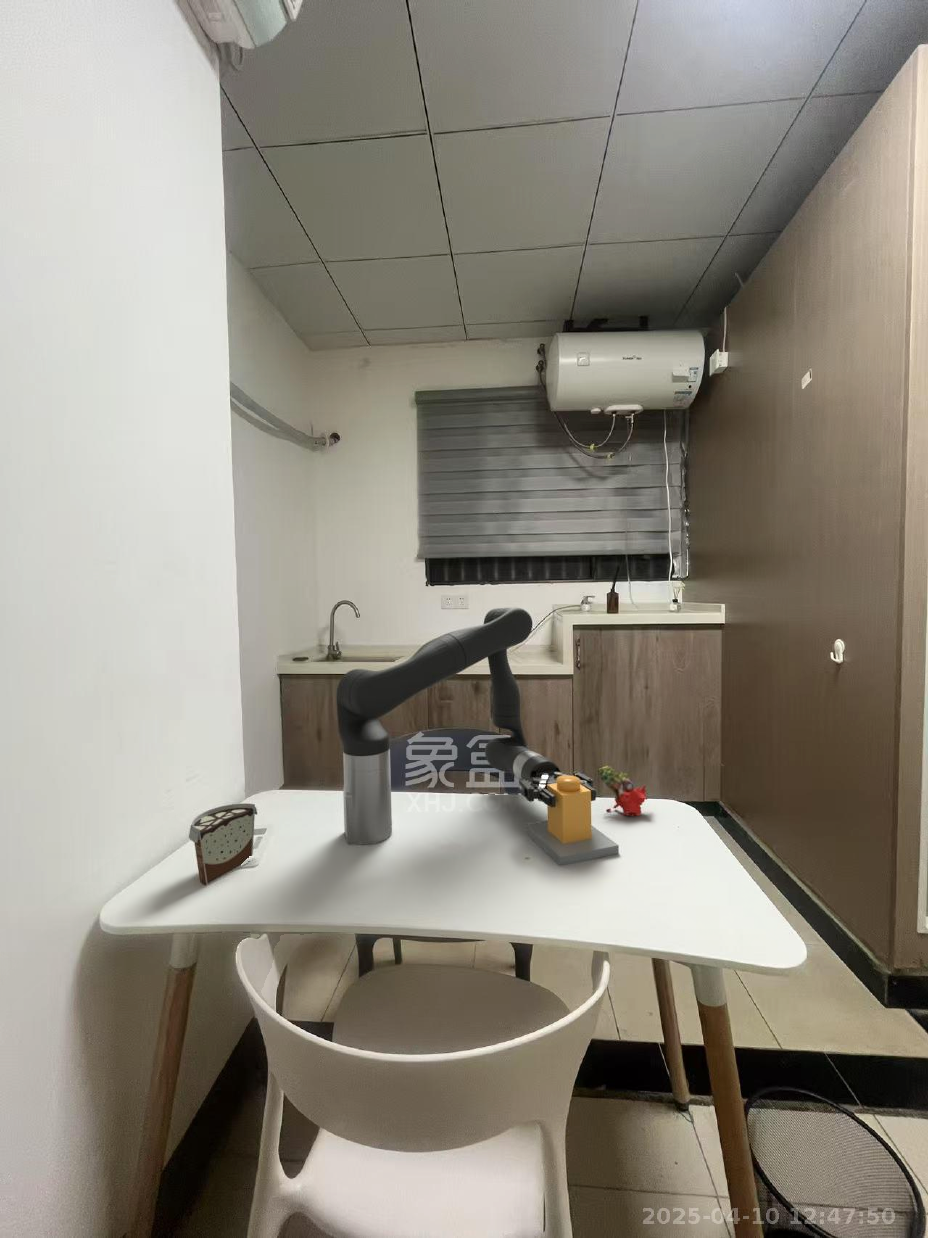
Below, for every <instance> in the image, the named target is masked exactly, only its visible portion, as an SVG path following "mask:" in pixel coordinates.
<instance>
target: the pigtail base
mask: <svg viewBox="0 0 928 1238" xmlns="http://www.w3.org/2000/svg"><path fill="white" fill-rule="evenodd" d="M525 833H527V834H528V835H529V836H530V837H531V838H532V839H533V840H534V841H535V842H536V843H537V844H538V845H539V846H540V847H541V848H542V849H543V850H544V852H546V853H547V854H548V855H549V856H550V857H551V858H552V859H553V860H554V861H555V862H556V863H557V864H558V865H559V866H563V865H568V864H572V863H573V864H574V863H578V862H583V861H587V860H592V859H593V860H594V859H598V858H602V857H607V856H613V855H617V854H619V853H620V851H619V847H620V846H619V844H618V843H616V842H615V841H613V839H611V838H610V837H609V836H607V835H606V834H604V833H603V832H602V831H600V830H599V829H597V828H596V827H595V826H593V825H592V824H591V833H592V838H590V839H585V840H580V841H575V842H570V843H564V844H563V843H562V842H561V841H560V840H559V839H557V838H556V837H555V836H554V835H553V834H552V833H551V832H549V831H548V819H547V820H542V821H536V822H535V821H534V822H531V823H526V824H525Z"/></svg>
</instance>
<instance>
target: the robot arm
mask: <svg viewBox="0 0 928 1238" xmlns="http://www.w3.org/2000/svg"><path fill="white" fill-rule="evenodd" d="M532 619H533V618H532V616H531V614H530V613H529V612H528V611H527V610H525V609H524V608H521V607H517V606H516V607H515V606H510V607H497V608H493V609H491V610H488V612H487V613H486V614H485V616H484V620H483V624H479V625H476V626H471V627H466V628H465V627H464V628H462V629H457V630H454V631H449V632H447V633H445V634H443V635H440V636H438V637H435V638H434V639H431V640H429V641H427V642H426V643H425V644H423V645H421V647H419V649H417V651H416V652H414V654H413V655H412V656H411V657H410V658H409V659H406V660H405V661H403V662H401V663H399V664H396V665H394V666H391V667H389V668H386V669H385V668H384V669H382V670H369V669H365V668H355V669H352V670H349V671H347V672H346V673H344V675H343V676H342V677H341V678H340V680H339V683H338V685H337V688H336V714H337V715H336V716H337V717H336V718H337V729H338V735H339V738H340V741H341V743H342V755H343V757H342V758H343V759H342V760H343V762H342V763H343V786H342V787H343V790H342V791H343V795H342V797H343V820H344V821H343V824H344V825H343V827H344V830H343V831H344V835H345V841H346V845H348V844H349V845H350V844H357V845H371V844H377V843H379V842H380V843H381V842H382V841H384V840H387V839H388V838H389V837H391V835H392V834H393V818H392V785H391V783H392V782H391V780H392V779H391V778H392V777H391V776H392V775H391V749H390V748H391V747H390V746H391V745H390V744H391V741H390V740H391V739H390V735H389V733H388V732H387V731H386V729H385V728H384V726H383V725H382V723H381V720H380V718H381V717H383V716H385V715H387V714H389V713H390V712H391V711H393V710H394V709H396V708H397V707H399V706H400V705H402V704H403V703H405V702H407V700H409V699H410V698H413V697H414V696H415V695H417V694H419V693H420V692H423V691H424V690H426V689H429V688H431V687H433V686H435V685H437V684H439V683H441V682H443V681H445V680H447V679H450V678H451V677H453V676H455V675H457V674H459V673H461V672H463V671H465V670H467V669H468V668H469V667H472V666H474V665H475V664H477V663H479V662H480V661H483V660H485V659H486V658H487V661H488V667H489V673H490V674H489V675H490V680H491V691H492V692H491V695H492V696H491V700H492V701H491V703H492V704H491V705H492V706H491V708H492V715H491V716H492V724H493V726H494V727H495V728H497V729H503V730H507V731H508V732H509V734H510V735H509V736H507V737H496V738H491V739H490V740H489V741H488V742H487V743H486V746H485V749H484V755H485V758H486V761H487V763H488V764H489V765H490V766H491V767H492V768H494V769H495V770H498V771H499V772H500V771H501V772H504V773H508V774H511V775H512V776H514V777H515V778H516V779H517V780H518V792H519V793H520V794H521V795H522V797H524V798H525V800H527V801H528V802H531V803H532V802H535V800H537V801H538V802H542V803H543V804H545V805H546V806H547V805H549V806H550V807H551V808H552V807H555V796H554V795H553V794H552V793H550V792H549V791H548V790H547V784H554V783H557V777H559V776H564V775H567V774H565V773H564V772H561V770H560V768H559V766H558V765H557V764H556V763H555V762H554V761H551V760H550V759H548V758H546V757H545V756H543V755H542V754H540V753H538V752H535V751H533V750H531V749H529V748H528V744H527V741H526V737H525V733H524V731H523V726H522V720H521V694H520V689H519V685H518V683H517V681H516V678H515V676H514V674H513V671H512V669H511V666H510V664H509V663H510V662H509V660H508V651H507V650H508V648H511V647H513V646H517V645H519V644H521V643H523V642H525V641H526V640H527V638H529V636H530V634H531V633H532V629H533V625H534V624H533V620H532ZM572 773H573V774H572V776H575V777H578V778H579V779H580V784H581V785H582V786H584V787H585V788H587V789H589V790H590V791H591V802H594V801H596V799H597V790H596V789H595V787H594V785H593V784H594V779H593V778H591V777H589V776H587V775H586V774H584V773H581V772H580V771H577V770H576V771H573V772H572ZM568 775H569V774H568ZM569 776H571V775H569Z"/></svg>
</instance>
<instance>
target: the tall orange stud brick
mask: <svg viewBox="0 0 928 1238" xmlns="http://www.w3.org/2000/svg"><path fill="white" fill-rule="evenodd" d="M547 790H548V791H549V792H550V793H552V794H553V795H554V796H555V807H552V808H551V807H550V806H549V805H546V806H547V820H548V831H549V832H551V833H552V834H553V835H554V836H555V837H556V838H557V839H559V840H560V841H561V842H562V843H563V844H564V843H570V842H575V841H580V840H585V839H590V838H592V833H591V825H592V801H591V791H590V790H589V789H587V788H585V787H584V786H582V785H581V784H580V779H579V778H578V777H575V776H573V775H570V776H569V774H566V775H564V776H559V777H557V783H554V784H547Z"/></svg>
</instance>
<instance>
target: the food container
mask: <svg viewBox="0 0 928 1238" xmlns="http://www.w3.org/2000/svg"><path fill="white" fill-rule="evenodd" d="M255 815H256V816H257V815H258V809H257V807H256V805H255V804H254V803H245V802H244V803H243V802H242V803H240V802H239V803H232V804H227V805H221V806H217V807H213V808H211V809H208V810H207V811H204V812H202V813H201V814H198V815H197V816H196V817H194V819H193V820H192V823H191V825H190V827H189V834H188V839H189V840H190V841H191V842H193V843H194V850H195V858H196V864H197V869H198V872H197V873H198V878H199V882H200V883H201V884H202V885H203V886H205V887H207V886H210V885H211V884H213V883H215V882H217V881H219V880H220V879H221V878H224V877H225V876H227V875H229V874H230V873H232V872H234V871H236V870H238V869H239V868H241V867H242V866H241V864H242V863H243V862H244V861H245V860H246V859H247V858H249V856H252V855H253V854H254V836H255V834H254V833H255ZM253 856H254V855H253Z"/></svg>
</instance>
